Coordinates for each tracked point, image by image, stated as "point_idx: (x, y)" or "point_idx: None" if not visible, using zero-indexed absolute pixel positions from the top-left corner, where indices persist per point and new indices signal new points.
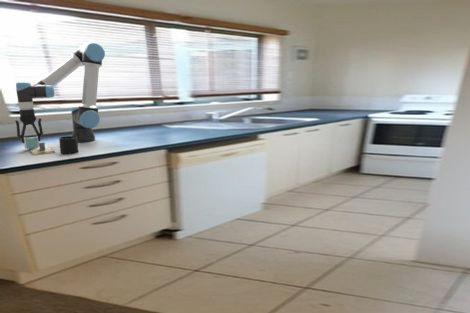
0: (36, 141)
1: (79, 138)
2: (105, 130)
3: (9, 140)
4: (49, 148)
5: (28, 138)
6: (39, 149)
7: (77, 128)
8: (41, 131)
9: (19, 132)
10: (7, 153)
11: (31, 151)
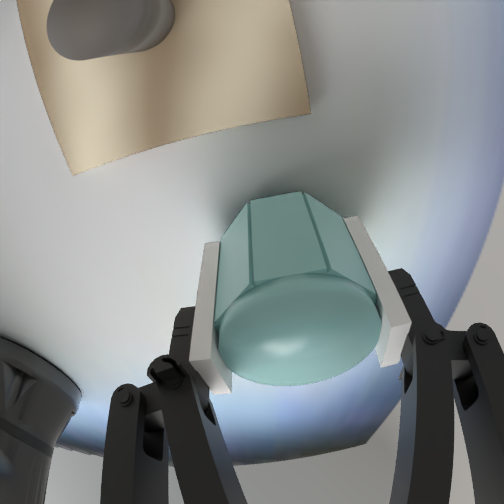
0: (224, 286)
1: (8, 362)
2: (64, 440)
3: (358, 436)
4: (72, 119)
5: (338, 331)
6: (184, 79)
7: (5, 423)
8: (120, 434)
9: (493, 392)
10: (498, 137)
11: (292, 21)
